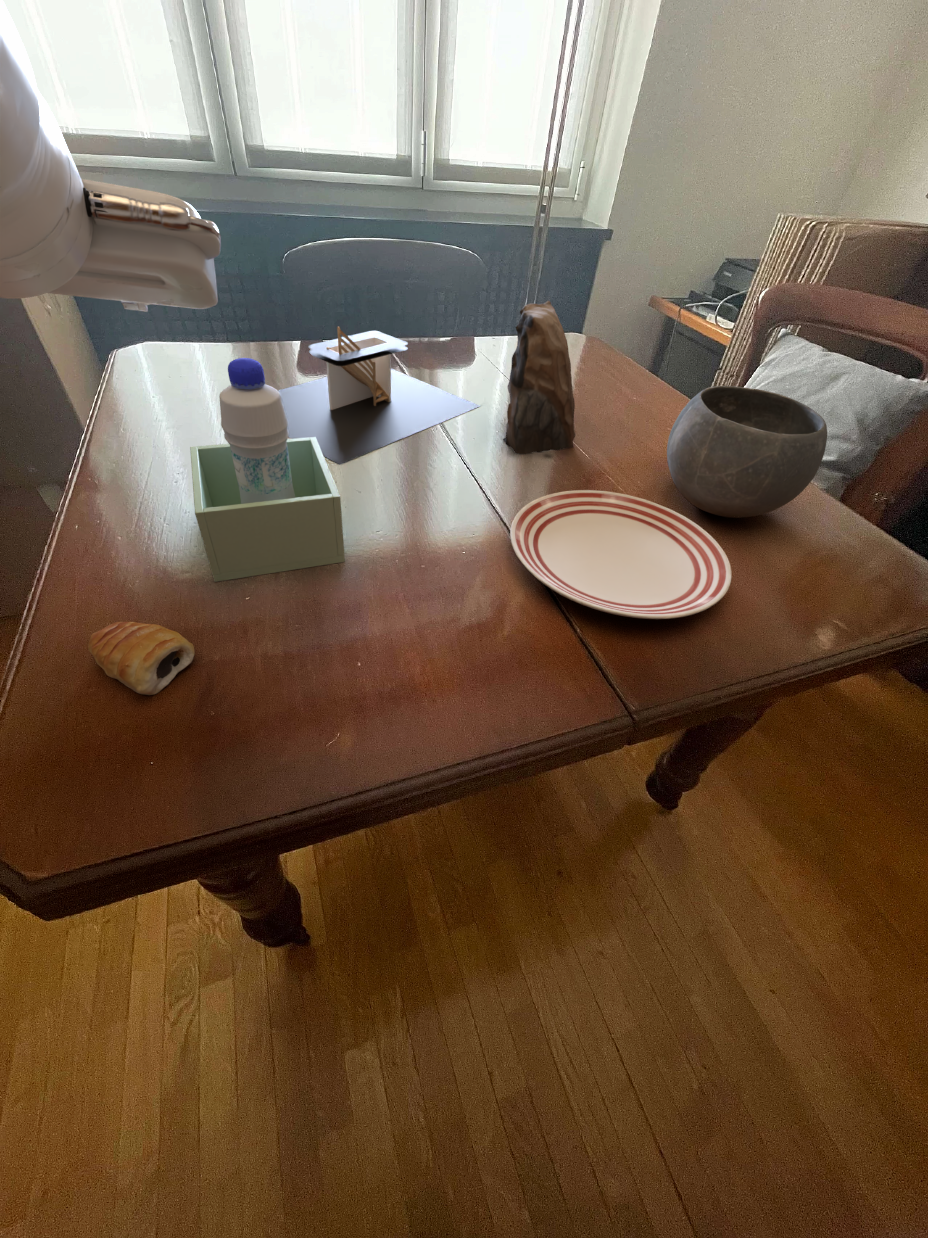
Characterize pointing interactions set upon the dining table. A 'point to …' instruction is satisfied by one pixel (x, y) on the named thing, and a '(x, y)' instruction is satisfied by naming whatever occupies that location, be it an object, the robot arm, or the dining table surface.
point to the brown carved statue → (540, 384)
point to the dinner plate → (620, 554)
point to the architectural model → (364, 398)
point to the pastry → (141, 654)
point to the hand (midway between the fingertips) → (55, 290)
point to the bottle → (256, 433)
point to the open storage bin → (267, 515)
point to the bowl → (744, 450)
